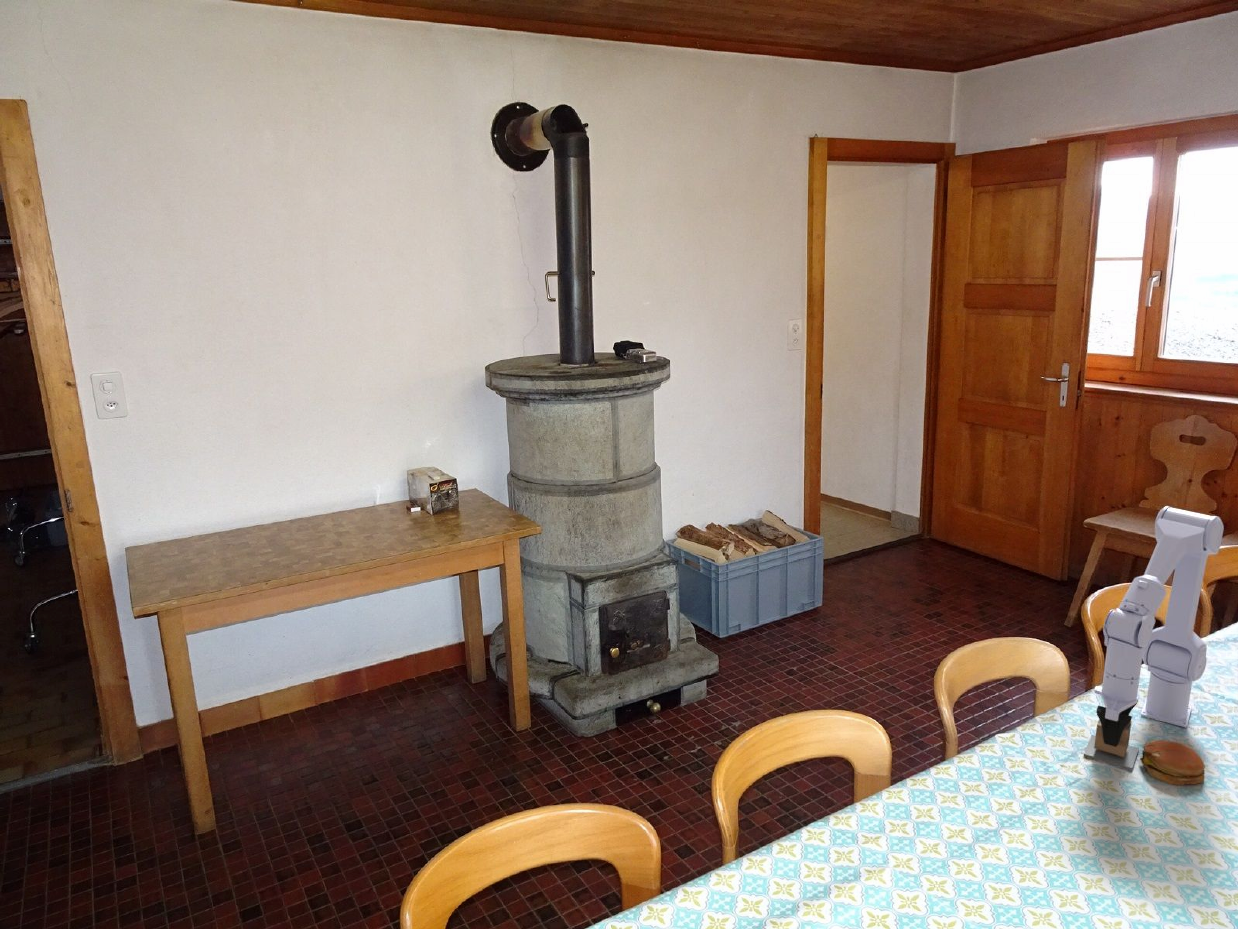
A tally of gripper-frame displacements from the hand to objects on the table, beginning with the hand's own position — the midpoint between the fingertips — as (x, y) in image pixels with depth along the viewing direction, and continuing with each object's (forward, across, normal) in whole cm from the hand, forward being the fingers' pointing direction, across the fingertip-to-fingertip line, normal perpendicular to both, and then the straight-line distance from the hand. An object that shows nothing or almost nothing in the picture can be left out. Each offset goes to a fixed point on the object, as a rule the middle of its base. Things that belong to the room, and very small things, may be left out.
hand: (1113, 737), depth 164 cm
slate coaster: (+3, 0, 0) cm, 3 cm away
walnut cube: (+2, 0, 0) cm, 2 cm away
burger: (+4, 0, +10) cm, 11 cm away
